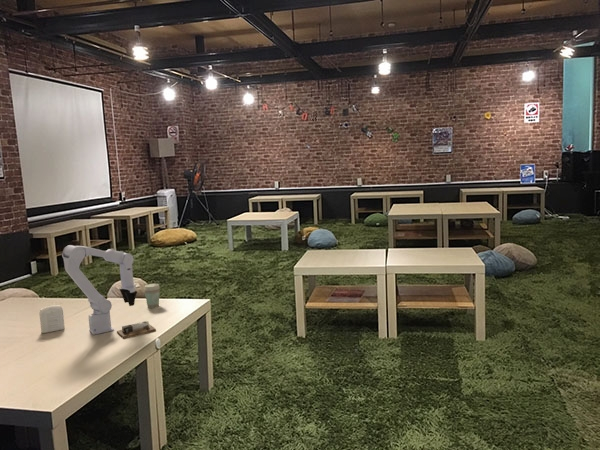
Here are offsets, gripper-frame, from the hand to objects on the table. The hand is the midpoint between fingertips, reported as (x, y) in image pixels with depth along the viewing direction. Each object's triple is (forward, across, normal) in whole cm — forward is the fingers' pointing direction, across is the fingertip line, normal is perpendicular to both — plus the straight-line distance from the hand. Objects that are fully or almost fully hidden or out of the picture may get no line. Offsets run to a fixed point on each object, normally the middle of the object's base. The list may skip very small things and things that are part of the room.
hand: (129, 303), depth 251 cm
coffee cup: (+10, +19, -18) cm, 28 cm away
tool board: (+9, -16, +2) cm, 19 cm away
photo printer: (+10, +14, +33) cm, 37 cm away
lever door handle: (+8, -17, +3) cm, 19 cm away
